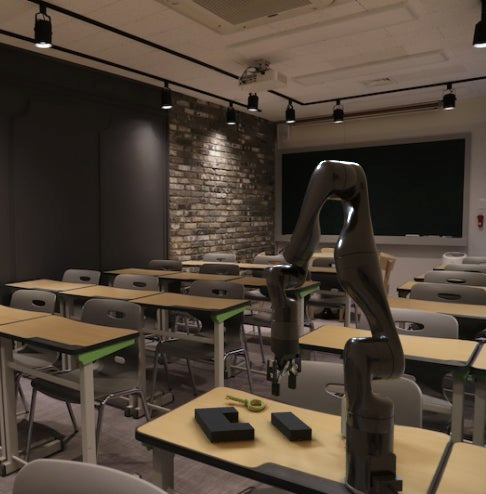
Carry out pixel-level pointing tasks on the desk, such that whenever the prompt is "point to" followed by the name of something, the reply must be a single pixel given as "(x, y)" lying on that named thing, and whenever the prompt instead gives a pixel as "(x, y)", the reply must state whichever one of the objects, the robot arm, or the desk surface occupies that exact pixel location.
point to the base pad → (223, 424)
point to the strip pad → (291, 426)
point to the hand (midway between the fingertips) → (284, 392)
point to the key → (248, 402)
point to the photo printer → (343, 416)
